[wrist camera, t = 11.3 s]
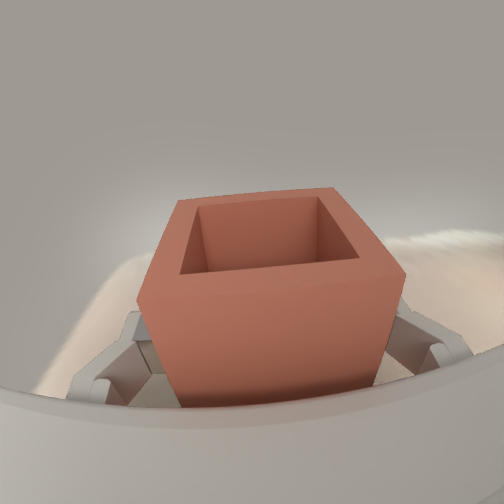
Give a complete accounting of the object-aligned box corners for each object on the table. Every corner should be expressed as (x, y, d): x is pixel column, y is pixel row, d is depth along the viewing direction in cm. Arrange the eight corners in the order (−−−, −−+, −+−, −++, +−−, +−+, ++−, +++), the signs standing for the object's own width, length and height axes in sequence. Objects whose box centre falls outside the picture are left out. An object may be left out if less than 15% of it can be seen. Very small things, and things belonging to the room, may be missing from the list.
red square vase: (334, 468, 12) (406, 273, 6) (222, 481, 12) (135, 299, 6) (315, 386, 17) (333, 187, 11) (222, 395, 17) (178, 200, 11)
